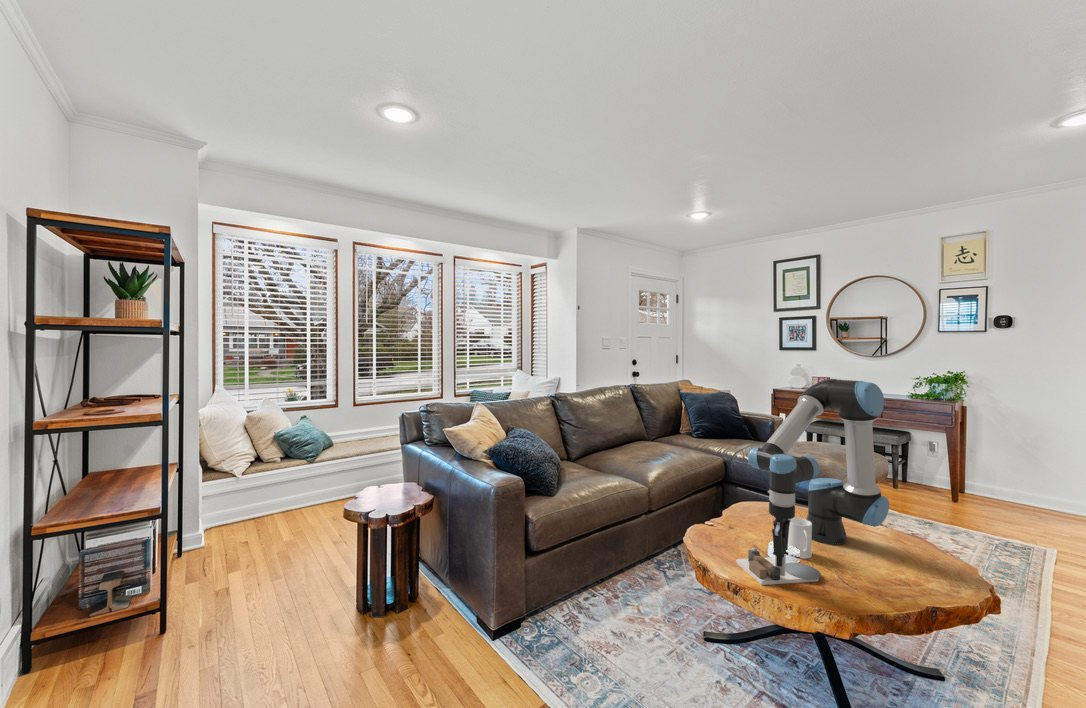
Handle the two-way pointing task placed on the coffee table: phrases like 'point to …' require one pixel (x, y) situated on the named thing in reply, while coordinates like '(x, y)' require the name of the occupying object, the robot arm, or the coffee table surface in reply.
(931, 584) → the coffee table surface
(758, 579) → the stand board
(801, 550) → the mug
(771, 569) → the leg
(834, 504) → the robot arm
